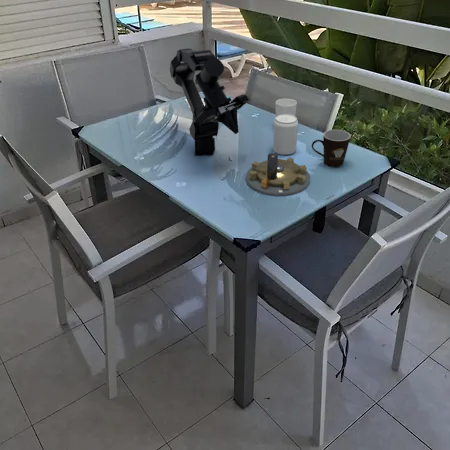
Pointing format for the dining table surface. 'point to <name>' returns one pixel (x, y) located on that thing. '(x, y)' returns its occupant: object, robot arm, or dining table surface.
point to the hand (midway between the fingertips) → (237, 133)
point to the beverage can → (285, 134)
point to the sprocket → (278, 172)
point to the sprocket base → (275, 190)
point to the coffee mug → (334, 147)
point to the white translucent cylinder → (286, 107)
